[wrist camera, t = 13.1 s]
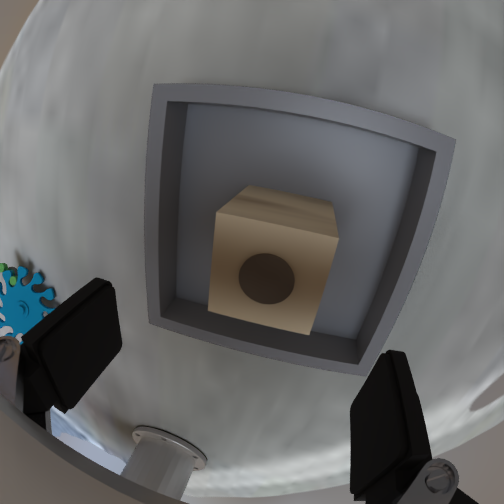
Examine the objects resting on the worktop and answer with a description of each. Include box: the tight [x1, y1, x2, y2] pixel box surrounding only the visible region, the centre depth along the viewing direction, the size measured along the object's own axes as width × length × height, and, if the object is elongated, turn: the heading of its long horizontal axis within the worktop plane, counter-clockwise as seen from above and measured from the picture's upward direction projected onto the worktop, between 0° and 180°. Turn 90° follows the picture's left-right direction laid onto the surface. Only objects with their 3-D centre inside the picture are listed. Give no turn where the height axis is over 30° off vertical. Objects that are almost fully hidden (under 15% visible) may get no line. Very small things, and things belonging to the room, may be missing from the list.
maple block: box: [208, 185, 339, 335], centre depth 15 cm, size 5×5×6 cm
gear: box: [0, 263, 55, 345], centre depth 26 cm, size 11×6×10 cm
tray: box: [144, 84, 456, 376], centre depth 17 cm, size 16×16×4 cm
